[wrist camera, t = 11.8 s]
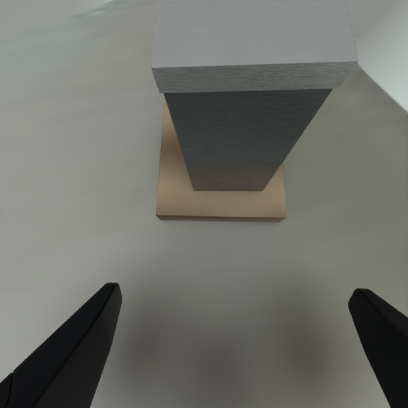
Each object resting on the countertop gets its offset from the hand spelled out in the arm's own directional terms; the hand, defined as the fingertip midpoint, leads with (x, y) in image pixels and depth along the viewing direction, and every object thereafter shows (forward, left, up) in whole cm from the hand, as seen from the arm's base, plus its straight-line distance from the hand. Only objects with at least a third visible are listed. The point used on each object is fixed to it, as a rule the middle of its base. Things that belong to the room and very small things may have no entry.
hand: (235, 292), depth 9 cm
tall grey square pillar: (+5, +8, -8) cm, 12 cm away
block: (+5, +8, -10) cm, 14 cm away
